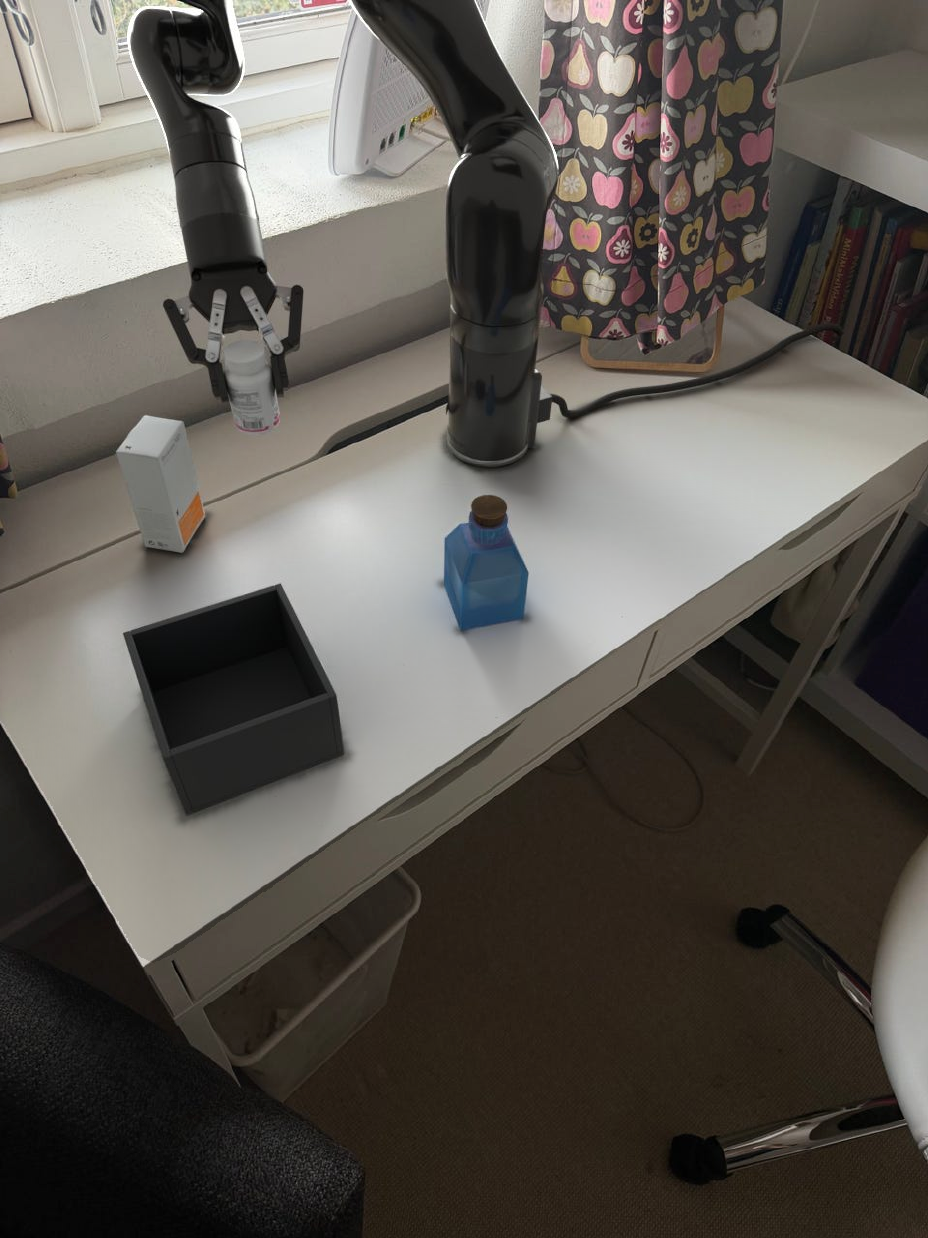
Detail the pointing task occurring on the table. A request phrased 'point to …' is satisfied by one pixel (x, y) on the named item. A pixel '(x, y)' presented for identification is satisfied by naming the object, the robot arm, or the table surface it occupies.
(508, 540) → the perfume bottle
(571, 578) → the table surface
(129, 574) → the table surface
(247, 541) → the table surface
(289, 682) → the open box
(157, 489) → the cosmetic box
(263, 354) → the pill bottle
